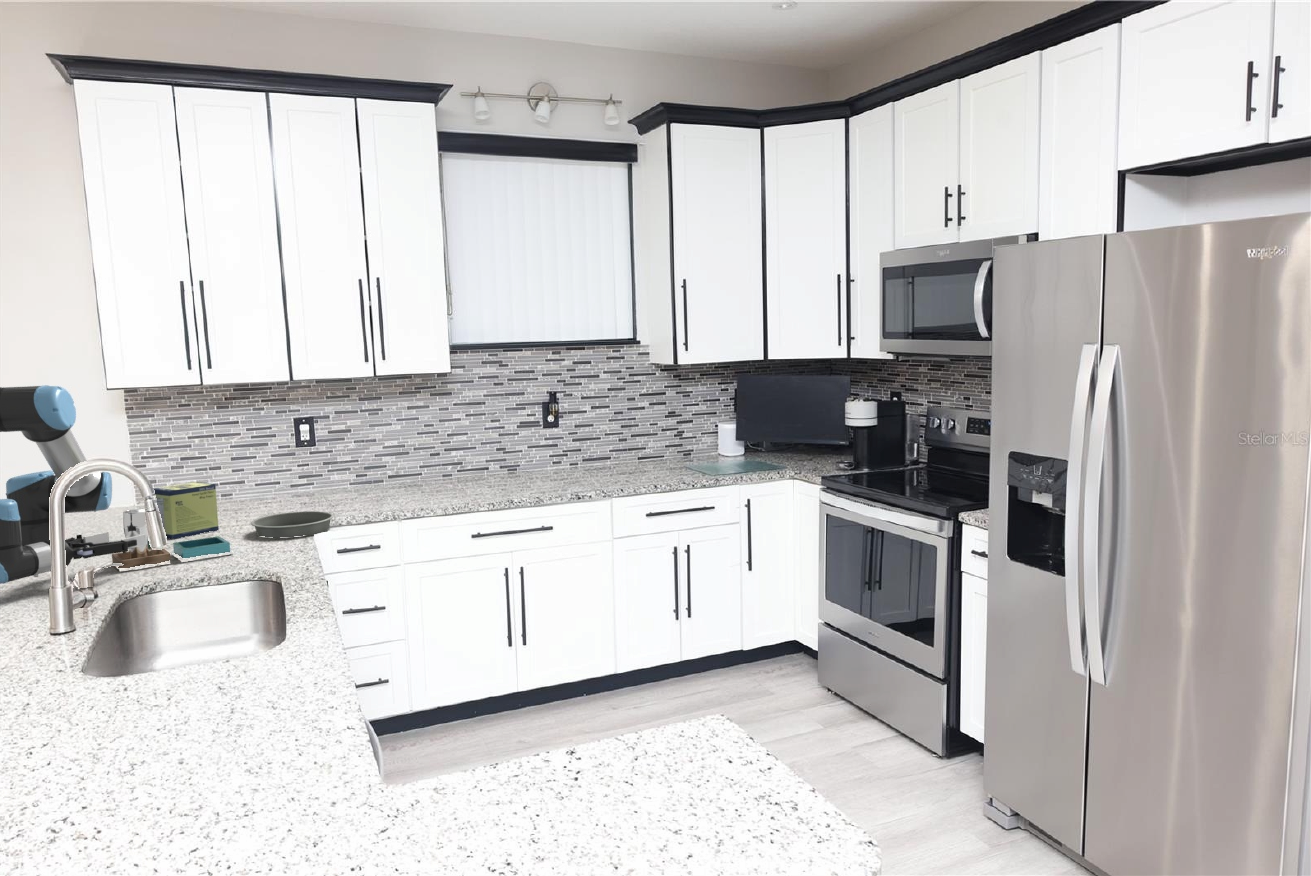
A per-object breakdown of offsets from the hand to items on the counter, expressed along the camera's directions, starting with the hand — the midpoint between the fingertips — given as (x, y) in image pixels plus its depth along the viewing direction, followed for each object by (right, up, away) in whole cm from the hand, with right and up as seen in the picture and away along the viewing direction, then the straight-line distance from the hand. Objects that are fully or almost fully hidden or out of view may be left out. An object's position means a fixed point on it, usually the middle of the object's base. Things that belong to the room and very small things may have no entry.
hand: (126, 538), depth 228 cm
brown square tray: (+1, -8, +5) cm, 9 cm away
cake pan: (+26, -4, +45) cm, 52 cm away
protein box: (-9, -4, +46) cm, 47 cm away
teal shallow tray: (+13, -7, +15) cm, 20 cm away
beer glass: (+1, -8, +5) cm, 9 cm away
